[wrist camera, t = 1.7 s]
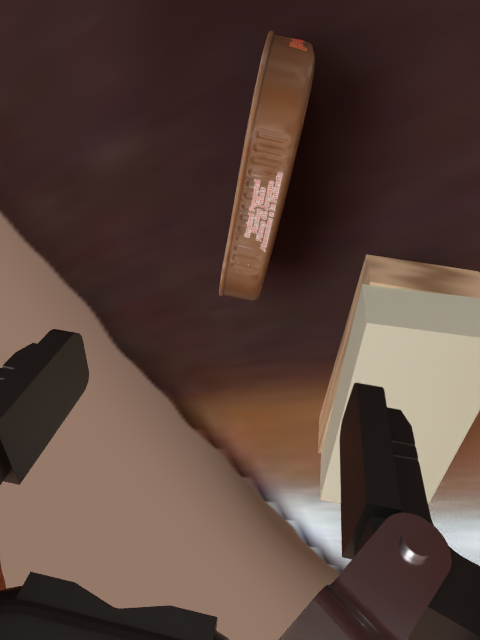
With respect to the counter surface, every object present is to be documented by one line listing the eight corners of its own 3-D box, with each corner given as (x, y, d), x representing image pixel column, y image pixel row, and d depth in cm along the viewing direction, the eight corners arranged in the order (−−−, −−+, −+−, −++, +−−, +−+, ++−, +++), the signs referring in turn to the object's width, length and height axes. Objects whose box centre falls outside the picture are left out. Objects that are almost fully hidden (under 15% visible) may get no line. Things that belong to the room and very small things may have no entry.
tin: (273, 29, 24) (249, 28, 17) (327, 41, 24) (324, 45, 17) (230, 258, 33) (203, 317, 26) (269, 268, 32) (252, 330, 26)
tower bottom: (319, 415, 41) (318, 452, 37) (366, 252, 31) (370, 281, 27) (401, 431, 40) (407, 470, 37) (477, 269, 30) (498, 302, 26)
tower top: (321, 454, 38) (319, 499, 34) (362, 284, 27) (366, 322, 23) (411, 470, 36) (420, 518, 33) (490, 299, 26) (516, 342, 22)
